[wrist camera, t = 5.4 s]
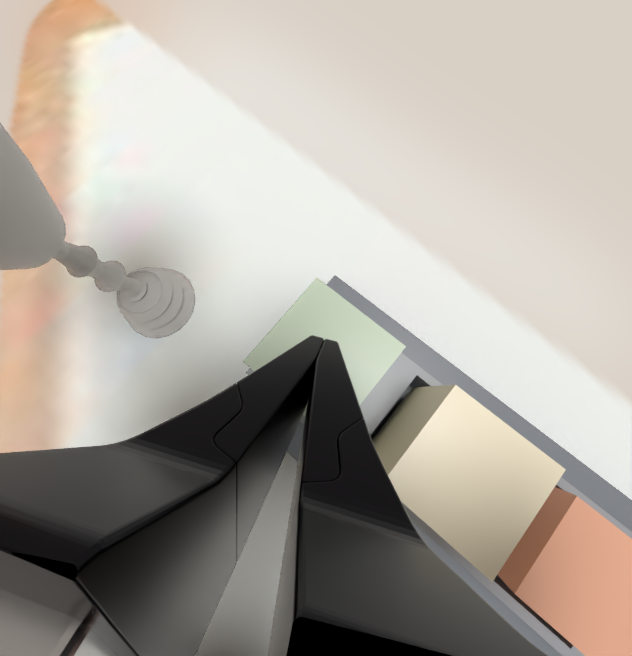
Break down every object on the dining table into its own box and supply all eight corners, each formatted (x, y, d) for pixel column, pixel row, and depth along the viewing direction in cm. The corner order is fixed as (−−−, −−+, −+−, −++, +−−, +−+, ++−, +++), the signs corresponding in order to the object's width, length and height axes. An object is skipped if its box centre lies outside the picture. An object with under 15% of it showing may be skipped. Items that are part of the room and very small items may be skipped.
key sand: (363, 450, 15) (381, 483, 9) (412, 387, 15) (455, 384, 10) (431, 510, 14) (492, 582, 9) (479, 441, 15) (565, 469, 9)
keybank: (236, 397, 19) (205, 398, 15) (334, 283, 21) (335, 249, 16) (595, 727, 15) (722, 887, 10) (691, 556, 16) (844, 625, 11)
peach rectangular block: (451, 524, 16) (514, 593, 10) (495, 461, 16) (576, 496, 11) (519, 583, 15) (626, 692, 9) (563, 515, 15) (687, 582, 10)
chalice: (103, 273, 22) (-847, -225, 4) (192, 241, 22) (-365, -362, 4) (124, 368, 20) (-1259, 203, 3) (219, 333, 20) (-487, -41, 3)
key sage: (273, 372, 16) (243, 361, 10) (321, 315, 16) (316, 277, 11) (332, 423, 15) (332, 440, 10) (380, 362, 16) (406, 346, 10)
